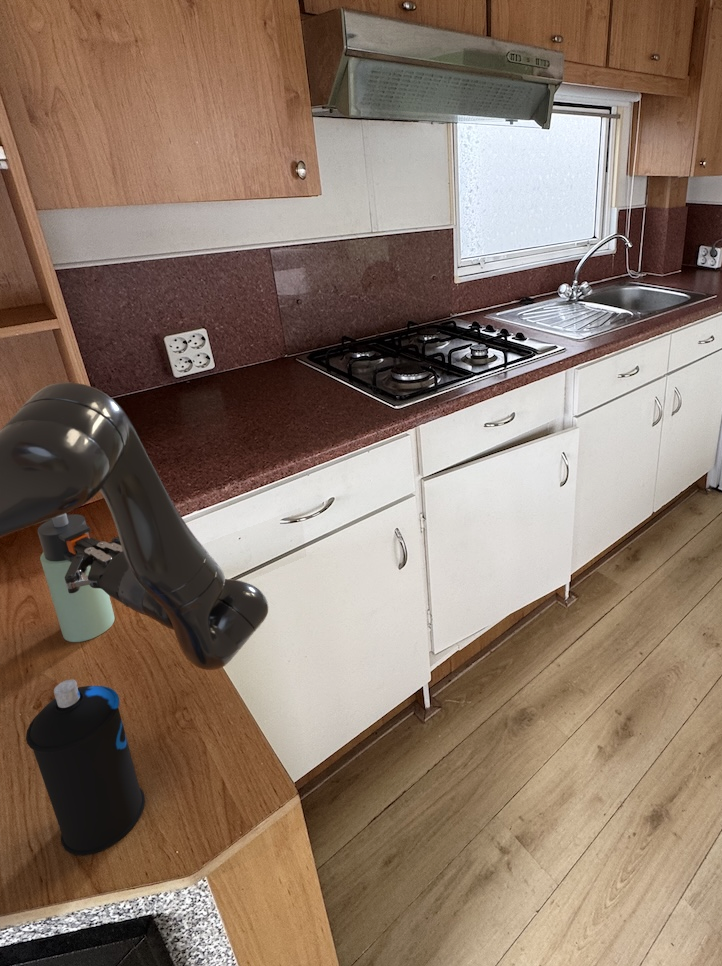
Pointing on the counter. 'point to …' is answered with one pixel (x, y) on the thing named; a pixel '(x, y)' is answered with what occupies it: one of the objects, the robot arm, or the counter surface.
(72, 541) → the nozzle button
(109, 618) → the sports bottle
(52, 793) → the black bottle
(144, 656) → the counter surface
